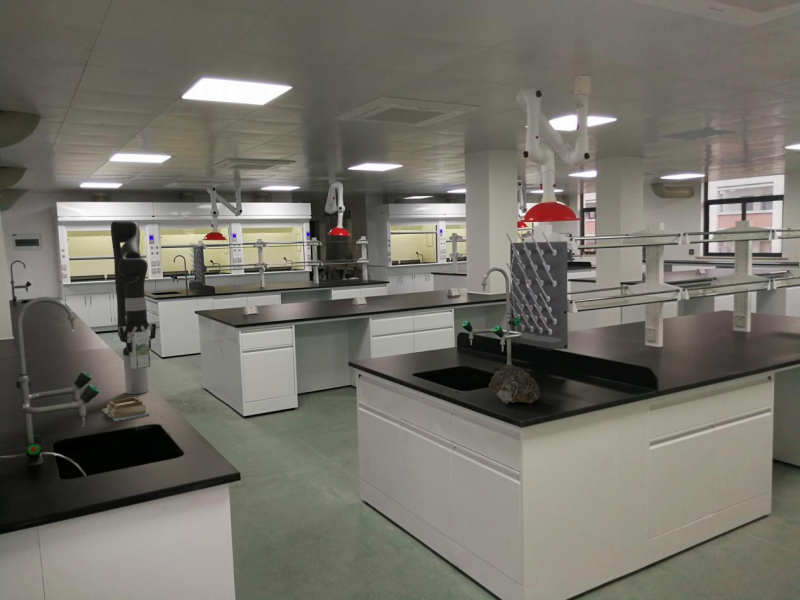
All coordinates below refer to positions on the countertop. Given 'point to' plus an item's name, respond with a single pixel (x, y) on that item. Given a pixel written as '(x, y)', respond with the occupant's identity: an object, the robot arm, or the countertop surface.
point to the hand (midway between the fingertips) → (138, 350)
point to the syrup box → (139, 350)
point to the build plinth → (125, 409)
